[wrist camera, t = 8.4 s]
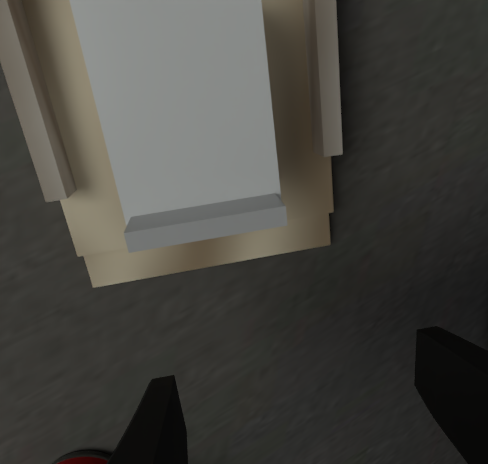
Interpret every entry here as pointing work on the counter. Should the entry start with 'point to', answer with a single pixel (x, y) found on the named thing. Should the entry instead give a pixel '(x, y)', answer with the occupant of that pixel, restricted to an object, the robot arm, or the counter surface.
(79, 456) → the soda can
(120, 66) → the grey ledged block
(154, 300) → the counter surface
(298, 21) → the dock
